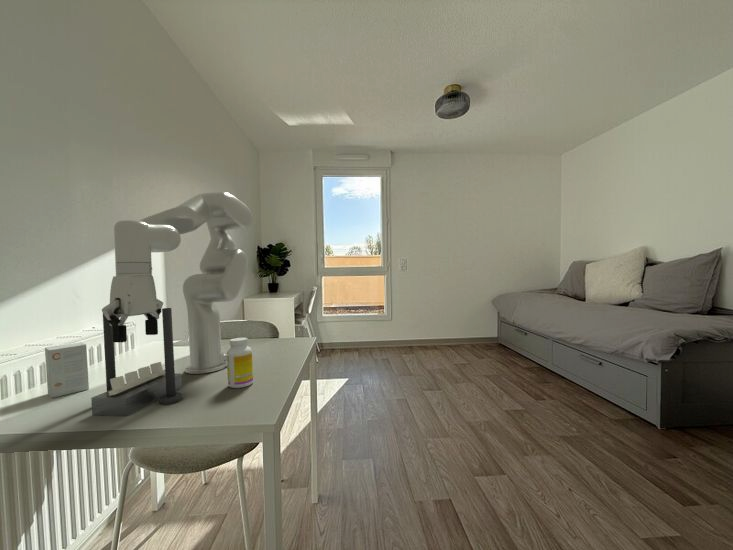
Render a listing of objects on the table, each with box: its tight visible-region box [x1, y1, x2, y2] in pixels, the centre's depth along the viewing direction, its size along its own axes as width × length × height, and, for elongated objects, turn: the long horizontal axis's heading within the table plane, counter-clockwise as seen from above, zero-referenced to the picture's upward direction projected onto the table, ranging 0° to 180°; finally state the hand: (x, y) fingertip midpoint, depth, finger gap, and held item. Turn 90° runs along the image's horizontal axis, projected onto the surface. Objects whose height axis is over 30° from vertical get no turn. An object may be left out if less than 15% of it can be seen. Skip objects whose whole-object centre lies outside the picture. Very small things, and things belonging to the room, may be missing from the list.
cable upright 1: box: [102, 313, 117, 392], centre depth 87 cm, size 5×5×23 cm
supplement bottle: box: [226, 337, 254, 389], centre depth 94 cm, size 7×7×13 cm
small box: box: [44, 341, 90, 399], centre depth 94 cm, size 8×6×13 cm
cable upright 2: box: [159, 307, 184, 406], centre depth 84 cm, size 5×5×23 cm
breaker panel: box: [90, 373, 183, 417], centre depth 85 cm, size 18×9×4 cm, turn 171°
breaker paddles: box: [109, 361, 165, 396], centre depth 85 cm, size 16×2×4 cm, turn 171°
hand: (136, 338), depth 85 cm, fingers open, 9 cm apart
